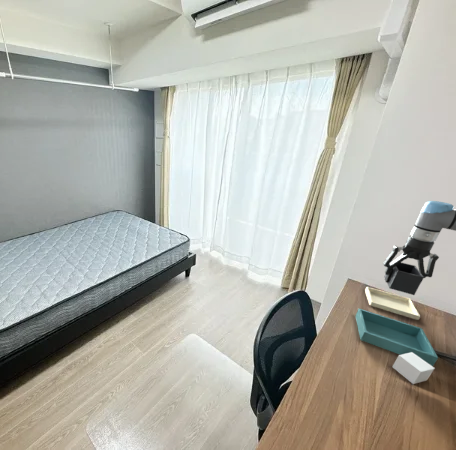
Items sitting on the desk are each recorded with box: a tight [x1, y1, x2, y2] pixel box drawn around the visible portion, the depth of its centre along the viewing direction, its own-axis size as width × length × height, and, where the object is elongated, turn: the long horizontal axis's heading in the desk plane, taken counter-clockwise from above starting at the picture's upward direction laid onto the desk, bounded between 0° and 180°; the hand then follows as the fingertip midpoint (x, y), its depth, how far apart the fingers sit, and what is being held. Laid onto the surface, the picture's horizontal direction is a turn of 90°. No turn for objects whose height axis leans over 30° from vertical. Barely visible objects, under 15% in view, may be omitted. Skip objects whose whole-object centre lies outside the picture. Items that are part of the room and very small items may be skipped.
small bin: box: [383, 260, 425, 296], centre depth 107 cm, size 8×11×9 cm
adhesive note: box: [392, 352, 436, 386], centre depth 78 cm, size 6×6×6 cm
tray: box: [364, 286, 421, 321], centre depth 112 cm, size 16×14×2 cm
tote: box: [355, 308, 439, 367], centre depth 92 cm, size 20×16×5 cm
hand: (398, 284), depth 109 cm, fingers closed on small bin, 8 cm apart
